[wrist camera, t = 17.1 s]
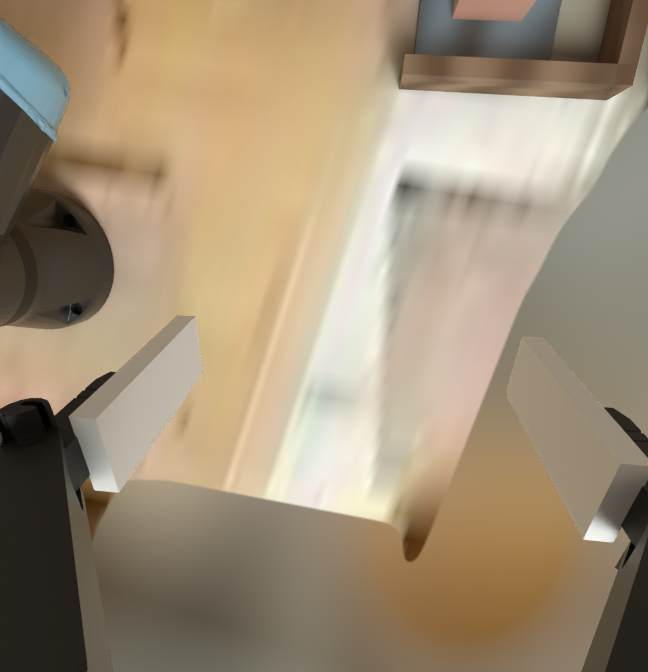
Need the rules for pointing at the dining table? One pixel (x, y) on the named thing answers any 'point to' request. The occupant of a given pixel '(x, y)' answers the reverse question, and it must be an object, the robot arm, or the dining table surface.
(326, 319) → the dining table surface
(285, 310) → the dining table surface
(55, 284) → the robot arm
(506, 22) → the corner bracket
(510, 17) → the block
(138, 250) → the dining table surface
